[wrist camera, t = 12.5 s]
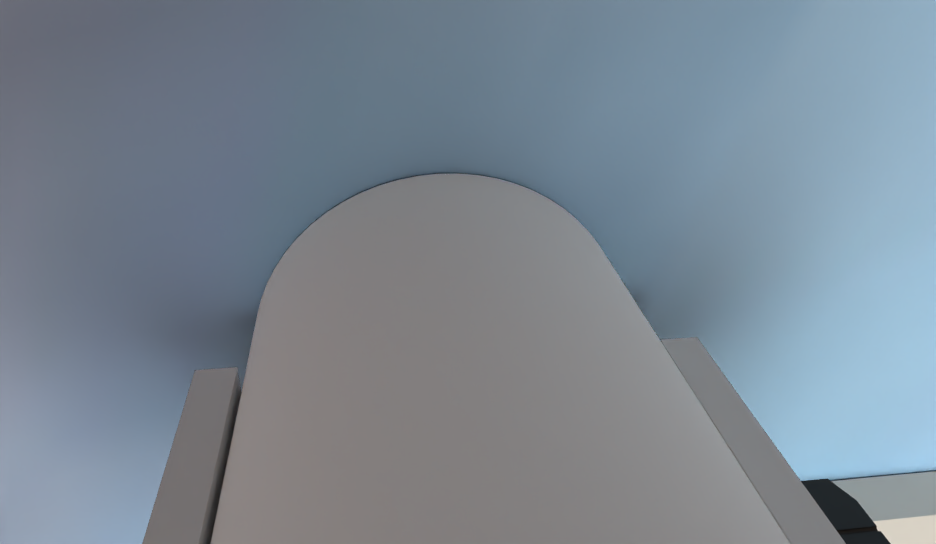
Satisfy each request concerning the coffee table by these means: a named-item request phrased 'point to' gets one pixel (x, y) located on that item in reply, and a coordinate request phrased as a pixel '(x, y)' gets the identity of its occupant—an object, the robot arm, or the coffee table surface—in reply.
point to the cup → (468, 388)
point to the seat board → (898, 505)
